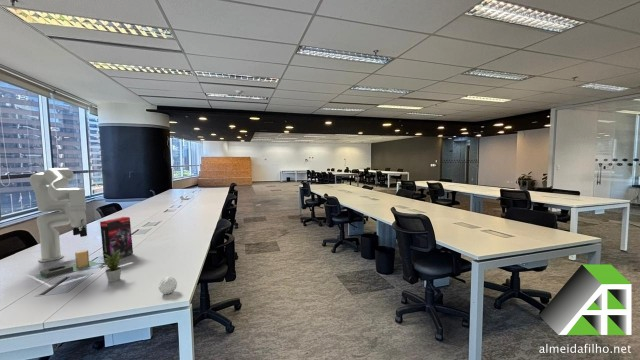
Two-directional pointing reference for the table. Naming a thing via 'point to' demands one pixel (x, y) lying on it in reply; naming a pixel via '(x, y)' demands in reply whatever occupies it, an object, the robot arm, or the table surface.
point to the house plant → (112, 267)
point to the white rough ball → (167, 285)
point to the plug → (82, 258)
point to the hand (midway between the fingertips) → (80, 235)
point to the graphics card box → (116, 237)
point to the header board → (61, 270)
